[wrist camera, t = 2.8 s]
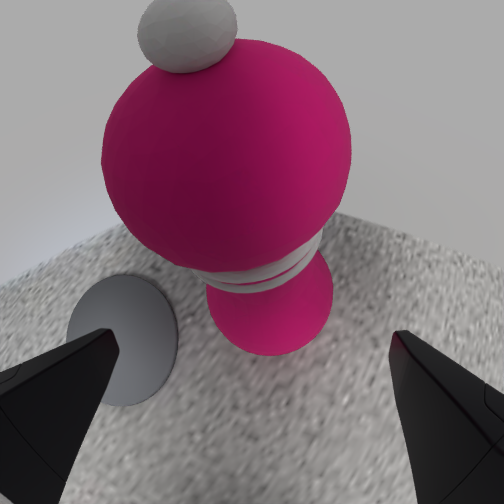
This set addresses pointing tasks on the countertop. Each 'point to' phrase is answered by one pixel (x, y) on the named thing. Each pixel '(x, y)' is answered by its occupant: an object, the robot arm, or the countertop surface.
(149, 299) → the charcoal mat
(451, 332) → the countertop surface
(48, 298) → the countertop surface
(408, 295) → the countertop surface
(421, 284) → the countertop surface
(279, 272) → the pepper mill
